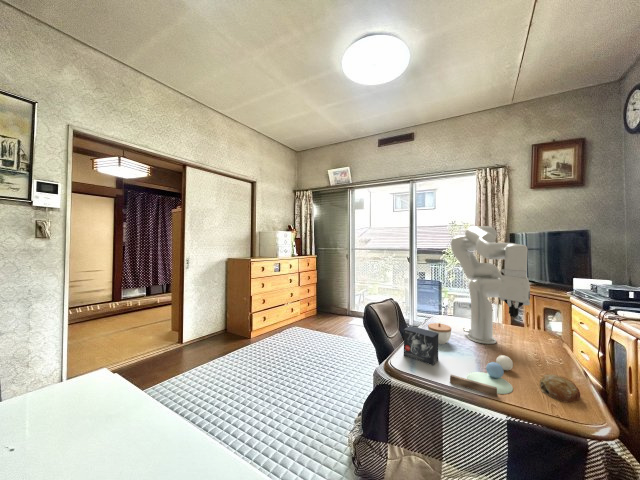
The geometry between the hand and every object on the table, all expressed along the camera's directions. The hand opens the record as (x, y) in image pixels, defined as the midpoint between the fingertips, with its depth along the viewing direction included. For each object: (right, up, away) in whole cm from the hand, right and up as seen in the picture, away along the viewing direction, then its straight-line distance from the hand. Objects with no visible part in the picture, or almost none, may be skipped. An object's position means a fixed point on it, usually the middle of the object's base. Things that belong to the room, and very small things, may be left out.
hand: (513, 316), depth 111 cm
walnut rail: (-29, -19, -20) cm, 41 cm away
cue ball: (-9, -17, -7) cm, 20 cm away
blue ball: (-17, -17, -13) cm, 27 cm away
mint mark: (-21, -19, -16) cm, 33 cm away
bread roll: (-2, -20, -23) cm, 30 cm away
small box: (-38, -20, +3) cm, 43 cm away
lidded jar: (-22, -19, +21) cm, 36 cm away
